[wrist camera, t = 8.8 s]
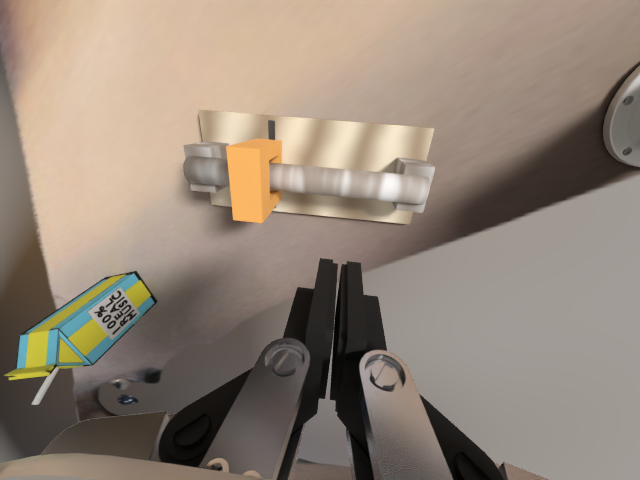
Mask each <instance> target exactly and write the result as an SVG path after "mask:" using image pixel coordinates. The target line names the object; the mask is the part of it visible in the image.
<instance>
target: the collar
mask: <svg viewBox="0 0 640 480" xmlns="http://www.w3.org/2000/svg"><path fill="white" fill-rule="evenodd" d="M226 151H227V161H228V171H229V182H230V192H231V202H232V213H233V220H237V221H247V222H256V223H263V222H264V221H265V219H266V218H267V217H268V215H269V214H270V213H271V211H272V210H273V209H274V208H275V206H276V205H277V204H278V202H279V201H280V200H281V199H282V191H273V190H270V177H269V162H270V163H282V140H270V139H258V138H257V139H253V140H249V141H245V142H241V143H237V144H233V145H230V146H226Z"/></svg>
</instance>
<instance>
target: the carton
mask: <svg viewBox="0 0 640 480" xmlns="http://www.w3.org/2000/svg"><path fill="white" fill-rule="evenodd" d="M156 303H157V300H156V299H155V298H154V296H153V295H152V293H151V292H150V290H149V289H148V287H147V286H146V284H145V283H144V282H143V280H142V279H141V277H140V276H139V274H138V273H137V271H134V272H129V273H125V274H120V275H115V276H110V277H106V278H104V279H102V280H101V281H99V282H98V283H96V284H95V285H93V286H92V287H90V288H89V289H87V290H86V291H84V292H83V293H81V294H80V295H78V296H77V297H75V298H74V299H72V300H71V301H69V302H68V303H67V304H65V305H64V306H62V307H61V308H59V309H58V310H56V311H55V312H53V313H52V314H50V315H49V316H47V317H46V318H44V319H43V320H41V321H40V322H38V323H37V324H35V325H34V326H32V327H31V328H29V329H28V330H26V331H25V332H24V333H22V334H21V335H19V342H18V351H17V361H16V370H14V371H12V372H10V373H8V374H6V375H5V376H9V380H14V379H22V378H31V377H40V376H47V378H46V380H45V381H44V383H43V385H42V386H41V388H40V390H39V392H38V394H37V395H36V397H35V398H34V401H33V402H32V404H35V405H37V404H39V403H40V401H41V400H42V398H43V396H44V394H45V393H46V391H47V389H48V387H49V385H50V384H51V382H52V380H53V378H54V377H55V375H56V373H57V371H58V370H59V369H65V368H74V367H82V366H90V365H94V364H95V363H96V362H97V361H98V360H99V359H100V358H101V357H102V356H103V355H104V354H105V353H106V352H107V351H108V350H109V349H110V348H111V347H112V346H113V345H114V344H115V343H116V342H117V341H118V340H119V339H120V338H121V337H122V336H123V335H124V334H125V333H126V332H127V331H128V330H129V329H130V328H131V327H132V326H133V325H134V324H135V323H136V322H137V321H138V320H139V319H140V318H141V317H142V316H144V314H145V313H146V312H147V311H148V310H149V309H150V308H151V307H153V306H154V305H155V304H156Z"/></svg>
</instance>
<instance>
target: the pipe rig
mask: <svg viewBox="0 0 640 480" xmlns="http://www.w3.org/2000/svg"><path fill="white" fill-rule="evenodd" d="M198 111H199V119H200V126H201V133H202V141H203V142H200V143H195V144H189V145H184V152H185V158H186V159H185V162H184V174H185V177H186V179H187V180H188V181H189V182H190V187H191V191H201V192H210V199H211V205H218V206H229V207H232V202H231V192H230V182H229V171H228V161H227V151H226V146H230V145H233V144H237V143H241V142H245V141H249V140H253V139H257V138H258V139H270V140H282V163H270V162H269V177H270V190H273V191H282V199H281V200H280V201H279V202H278V204H277V205H276V206H275V208H274V209H273V210H272V211H279V212H289V213H300V214H310V215H320V216H330V217H340V218H350V219H360V220H371V221H381V222H391V223H401V224H410V222H411V218H412V214H413V212H420V213H423V211H424V207H425V203H426V200H427V197H428V194H429V189H430V185H431V181H432V178H433V174H434V171H435V167H434V166H432V165H430V164H429V163H427V162H426V159H427V155H428V151H429V147H430V144H431V140H432V136H433V132H434V128H423V127H410V126H398V125H385V124H372V123H359V122H347V121H334V120H321V119H309V118H296V117H283V116H270V115H258V114H245V113H232V112H220V111H207V110H198Z"/></svg>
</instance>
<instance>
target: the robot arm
mask: <svg viewBox="0 0 640 480" xmlns="http://www.w3.org/2000/svg"><path fill="white" fill-rule="evenodd" d="M603 139H604V143H605V146H606V149H607V150H608V152H609V153H610V155H611V156H613V157H614V158H615V159H616V160H617V161H619V162H622V163H624V164H627V165H632V166H636V167H640V65H639V66H638V67H637V68H636V69H635V70H634V71H633V72H632V74H631V75H630V76H629V77H628V78H627V79H626V80H625V82H624V83H623V84H622V86H621V87H620V88H619V90H618V91H617V93H616V94H615V96H614V98H613V100H612V101H611V103H610V105H609V108H608V110H607V113H606V116H605V120H604V125H603ZM337 268H338V264H335V263H333V260H330V259H321V258H320V262H319V267H318V272H317V278H316V283H315V288H314V289H309V288H300V287H298V288H297V291H296V294H295V298H294V301H293V305H292V308H291V312H290V315H289V318H288V322H287V325H286V329H285V332H284V336H283V338H282V339H277V340H275V341H273V342H271V343H270V344H268V345H267V346H266V347H265V348H264V350H263V351H262V352H261V354H260V356H259V358H258V360H257V362H256V364H255V365H254V367H253V368H252V369H250V370H248V371H247V372H245V373H243V374H241V375H240V376H238V377H236V378H235V379H233V380H231V381H229V382H228V383H226V384H224V385H223V386H221V387H219V388H218V389H216V390H214V391H212V392H211V393H209V394H207V395H206V396H204V397H202V398H200V399H199V400H197V401H195V402H193V403H192V404H190V405H188V406H187V407H185V408H184V409H182V410H181V411H180V412H178V413H177V414H169V415H168V413H167V411H162V412H153V413H143V414H134V415H124V416H115V417H105V418H96V419H89V420H86V421H82V422H79V423H77V424H75V425H73V426H71V427H70V428H67V429H66V430H65V431H63V432H62V433H61V434H60V435H58V436H57V437H56V438H55V439H54V440H53V441H52V442H51V443H50V444H49V445H48V446H47V448H46V449H45V450H44V451H43V453H42V454H41V455H40V456H33V457H28V458H23V459H19V460H14V461H9V462H5V463H3V464H0V480H290V479H291V475H292V472H293V468H294V464H295V461H296V457H297V453H298V449H299V446H300V443H301V439H302V435H303V432H304V428H305V423H306V422H307V421H308V420H309V419H310V418H312V417H313V416H314V415H315V414H316V413H317V409H318V400H319V398H321V399H325V394H326V386H327V379H328V372H329V363H330V356H331V349H332V340H333V330H334V341H333V358H332V374H331V389H330V390H331V391H330V400H335V401H336V409H335V411H336V412H337V413H338V414H337V416H338V417H339V419H340V420H341V421H342V422H343V424H344V425H345V426H346V437H347V445H348V453H349V461H350V469H351V477H352V480H548V479H546V478H543V477H540V476H538V475H536V474H533V473H531V472H528V471H525V470H523V469H520V468H518V467H515V466H513V465H510V464H508V463H505V462H503V463H502V464H501V465H499V464H497V463H494V462H493V461H492V460H491V459H490V458H489V457H488V456H487V455H486V453H485V452H483V451H482V450H481V449H480V448H479V447H478V446H477V445H476V444H474V442H472V441H471V440H470V439H469V438H468V437H467V436H466V435H465V434H463V433H462V432H461V431H460V430H459V429H458V428H457V427H455V425H453V424H452V423H451V422H450V421H449V420H448V419H447V418H446V417H444V416H443V415H442V414H441V413H440V412H439V411H438V410H437V409H436V408H434V407H433V406H432V405H431V404H430V403H429V402H428V401H427V400H425V399H424V398H423V397H422V396H421V395H420V394H419V393H418V390H417V388H416V385H415V383H414V380H413V378H412V375H411V373H410V371H409V369H408V367H407V365H406V364H405V363H404V362H403V361H402V360H401V359H400V358H399V357H397V356H396V355H394V354H393V353H390V352H388V351H387V348H386V342H385V336H384V330H383V324H382V318H381V312H380V306H379V301H378V297H377V296H368V295H363V284H362V273H361V263H358V262H349V261H347V265H344V264H342V266H341V274H340V282H339V290H338V297H337V305H336V314H335V298H336V284H337ZM334 315H335V324H334Z"/></svg>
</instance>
